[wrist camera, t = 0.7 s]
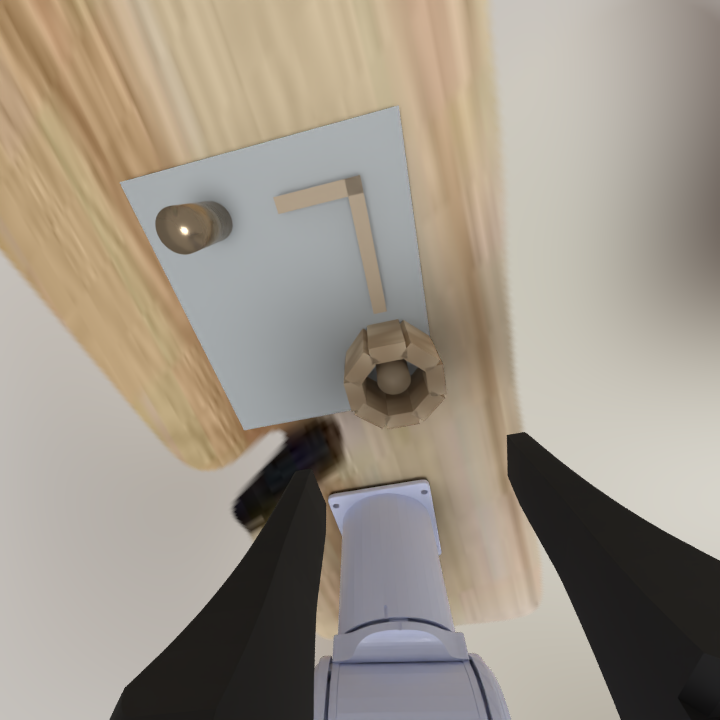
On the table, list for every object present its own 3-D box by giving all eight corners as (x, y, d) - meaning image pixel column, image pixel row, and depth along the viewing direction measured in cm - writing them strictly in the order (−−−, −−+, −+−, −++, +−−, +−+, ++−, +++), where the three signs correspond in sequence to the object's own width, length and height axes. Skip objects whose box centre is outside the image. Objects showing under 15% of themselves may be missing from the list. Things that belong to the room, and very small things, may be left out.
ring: (437, 388, 21) (449, 418, 18) (358, 403, 21) (358, 434, 18) (427, 312, 18) (439, 334, 16) (338, 331, 19) (335, 355, 16)
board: (435, 387, 22) (445, 415, 19) (247, 422, 23) (233, 453, 20) (396, 109, 15) (405, 92, 12) (130, 182, 16) (84, 182, 13)
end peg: (238, 236, 16) (210, 249, 13) (204, 244, 16) (169, 259, 13) (223, 196, 15) (189, 200, 12) (188, 206, 16) (146, 211, 13)
